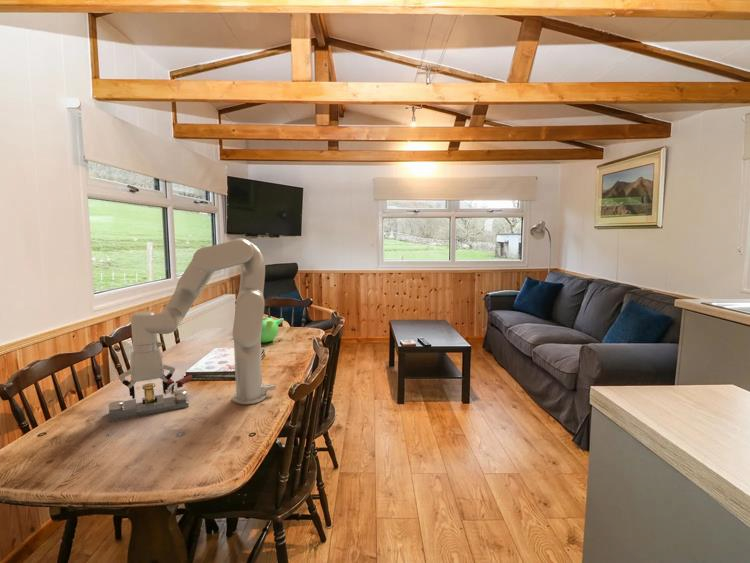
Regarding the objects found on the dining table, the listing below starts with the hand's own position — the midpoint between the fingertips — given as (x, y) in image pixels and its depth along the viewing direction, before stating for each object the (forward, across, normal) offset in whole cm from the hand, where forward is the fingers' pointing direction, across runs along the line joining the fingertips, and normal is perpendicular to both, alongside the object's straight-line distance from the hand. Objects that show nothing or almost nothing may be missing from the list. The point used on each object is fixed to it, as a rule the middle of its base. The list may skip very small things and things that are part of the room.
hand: (149, 394), depth 147 cm
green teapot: (+6, -58, -68) cm, 90 cm away
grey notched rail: (+5, 0, 0) cm, 5 cm away
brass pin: (+5, 0, 0) cm, 5 cm away
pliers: (+6, -9, -23) cm, 25 cm away
